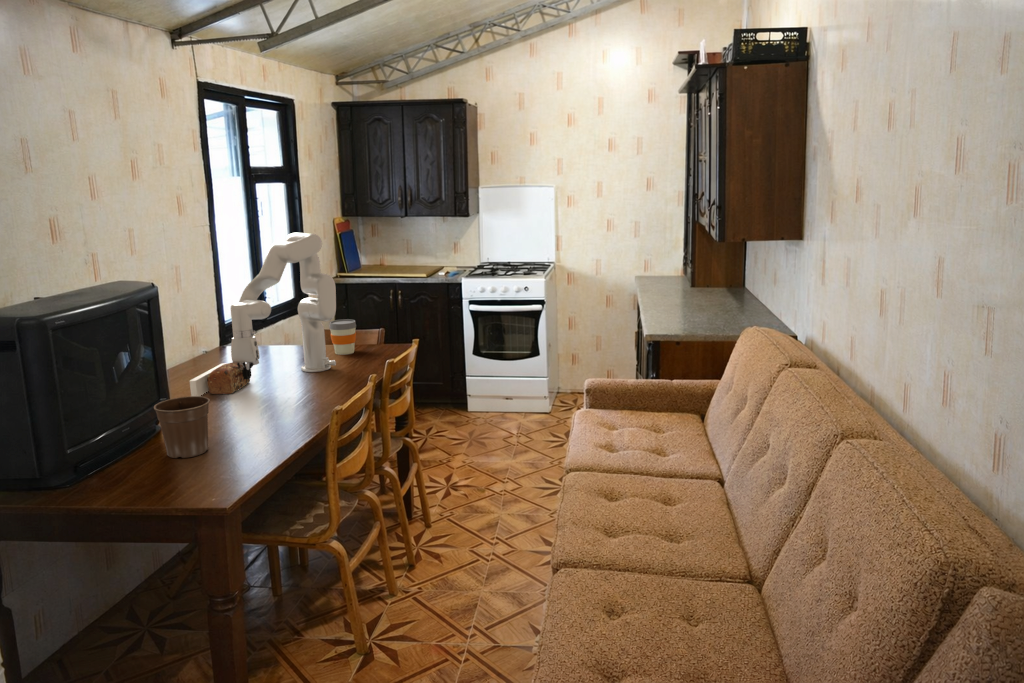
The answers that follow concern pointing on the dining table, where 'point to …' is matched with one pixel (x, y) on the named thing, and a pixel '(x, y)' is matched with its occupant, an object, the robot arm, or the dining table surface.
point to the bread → (226, 379)
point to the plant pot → (184, 425)
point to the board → (201, 383)
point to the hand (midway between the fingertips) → (247, 378)
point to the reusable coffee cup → (343, 336)
